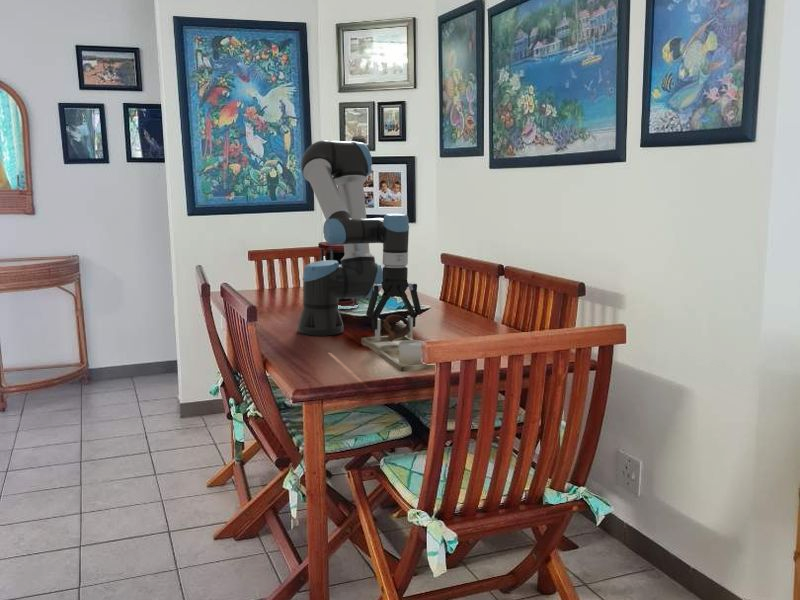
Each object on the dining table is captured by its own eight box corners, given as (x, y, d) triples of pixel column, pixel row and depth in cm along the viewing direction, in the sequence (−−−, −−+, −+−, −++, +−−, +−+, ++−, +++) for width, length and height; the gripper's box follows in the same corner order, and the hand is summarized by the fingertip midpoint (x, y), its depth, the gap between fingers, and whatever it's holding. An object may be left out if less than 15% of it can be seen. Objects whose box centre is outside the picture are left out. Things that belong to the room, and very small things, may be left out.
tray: (401, 374, 197) (401, 367, 197) (360, 343, 229) (361, 337, 229) (451, 369, 202) (452, 362, 202) (405, 340, 235) (405, 334, 234)
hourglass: (328, 301, 298) (328, 240, 294) (365, 304, 293) (365, 242, 289) (311, 308, 283) (311, 244, 279) (350, 311, 278) (350, 246, 274)
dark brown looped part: (407, 336, 230) (413, 316, 224) (402, 355, 222) (408, 336, 217) (371, 325, 230) (376, 305, 225) (364, 344, 222) (369, 324, 217)
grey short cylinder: (405, 366, 202) (405, 348, 201) (394, 357, 210) (394, 341, 209) (435, 363, 205) (435, 346, 204) (422, 355, 214) (423, 339, 213)
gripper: (363, 268, 211) (362, 343, 216) (434, 266, 219) (432, 338, 224) (355, 265, 218) (354, 338, 222) (424, 263, 226) (422, 333, 230)
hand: (393, 338), depth 223 cm, fingers closed on dark brown looped part, 10 cm apart
